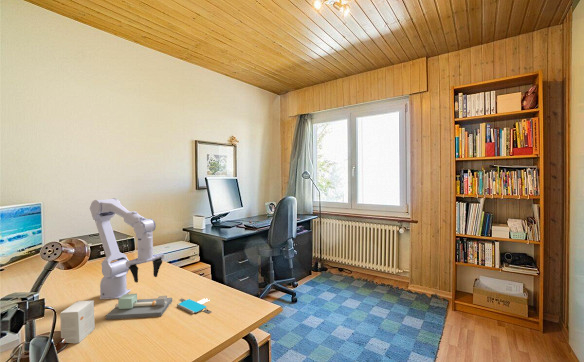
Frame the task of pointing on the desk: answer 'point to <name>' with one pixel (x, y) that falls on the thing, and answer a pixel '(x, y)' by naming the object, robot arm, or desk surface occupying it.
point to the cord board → (139, 310)
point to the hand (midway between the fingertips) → (146, 279)
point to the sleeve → (127, 301)
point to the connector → (161, 301)
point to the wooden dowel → (142, 304)
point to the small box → (77, 321)
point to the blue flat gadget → (193, 305)
